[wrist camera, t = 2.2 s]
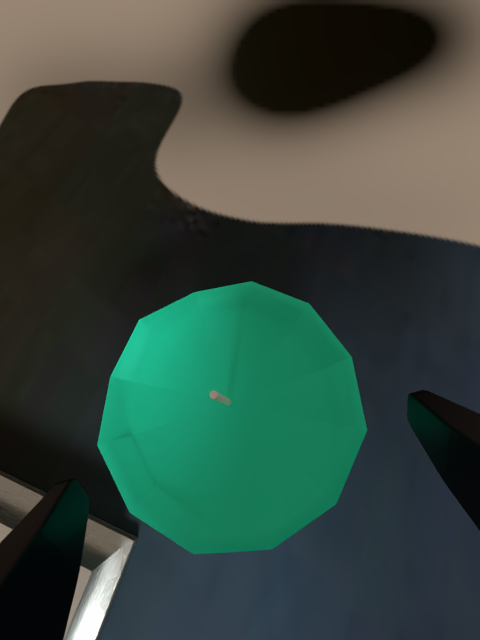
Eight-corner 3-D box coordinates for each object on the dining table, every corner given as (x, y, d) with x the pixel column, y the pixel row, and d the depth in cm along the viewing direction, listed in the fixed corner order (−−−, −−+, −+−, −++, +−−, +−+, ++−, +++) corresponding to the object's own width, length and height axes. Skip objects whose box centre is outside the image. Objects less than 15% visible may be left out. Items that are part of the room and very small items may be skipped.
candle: (314, 370, 17) (401, 267, 6) (299, 488, 15) (380, 669, 4) (212, 351, 18) (114, 230, 7) (186, 459, 16) (-7, 543, 5)
